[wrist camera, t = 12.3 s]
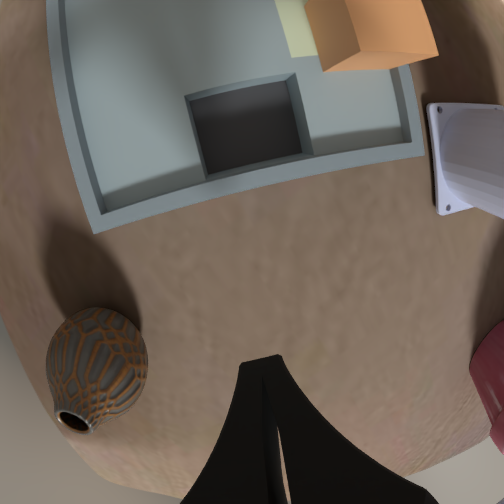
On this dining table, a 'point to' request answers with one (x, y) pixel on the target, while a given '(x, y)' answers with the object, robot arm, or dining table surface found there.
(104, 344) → the vase
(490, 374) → the plant pot
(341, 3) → the block
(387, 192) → the dining table surface
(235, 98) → the box
